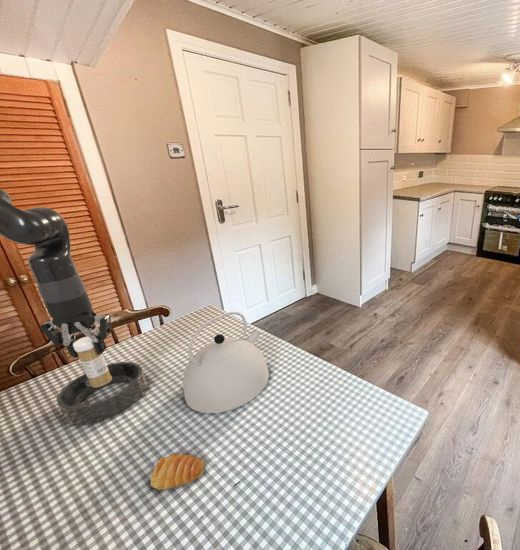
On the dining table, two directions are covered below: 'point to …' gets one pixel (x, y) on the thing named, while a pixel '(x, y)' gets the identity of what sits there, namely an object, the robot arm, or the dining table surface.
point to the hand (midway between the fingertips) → (89, 353)
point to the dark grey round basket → (109, 407)
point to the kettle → (224, 372)
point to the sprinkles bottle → (92, 362)
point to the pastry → (176, 471)
